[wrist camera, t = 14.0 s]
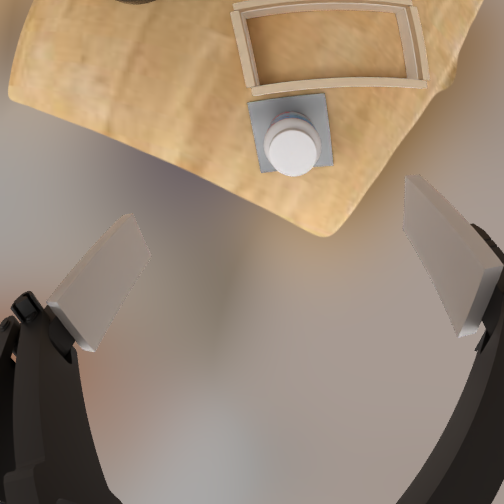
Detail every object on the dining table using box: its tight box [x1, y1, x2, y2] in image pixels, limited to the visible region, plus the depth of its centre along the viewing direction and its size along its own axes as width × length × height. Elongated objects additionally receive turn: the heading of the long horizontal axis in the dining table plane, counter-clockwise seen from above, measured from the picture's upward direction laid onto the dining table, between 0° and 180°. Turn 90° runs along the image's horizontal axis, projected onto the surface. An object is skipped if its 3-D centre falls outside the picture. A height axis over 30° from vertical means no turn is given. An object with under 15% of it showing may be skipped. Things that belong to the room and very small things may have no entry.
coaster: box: [247, 93, 333, 173], centre depth 34 cm, size 10×10×1 cm
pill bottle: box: [264, 112, 321, 176], centre depth 29 cm, size 6×6×11 cm
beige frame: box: [230, 0, 430, 96], centre depth 25 cm, size 12×22×5 cm, turn 101°
